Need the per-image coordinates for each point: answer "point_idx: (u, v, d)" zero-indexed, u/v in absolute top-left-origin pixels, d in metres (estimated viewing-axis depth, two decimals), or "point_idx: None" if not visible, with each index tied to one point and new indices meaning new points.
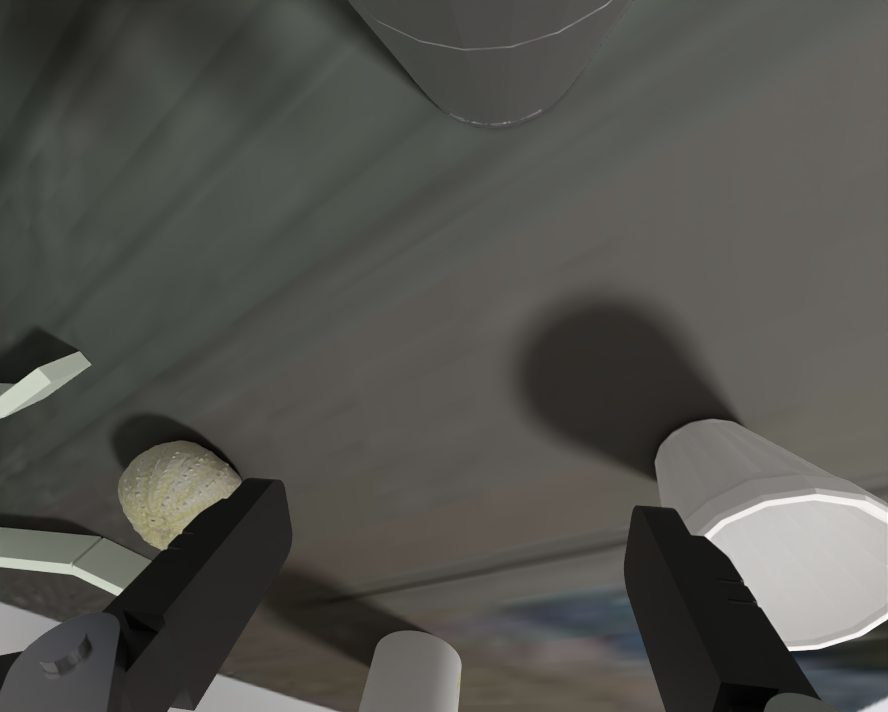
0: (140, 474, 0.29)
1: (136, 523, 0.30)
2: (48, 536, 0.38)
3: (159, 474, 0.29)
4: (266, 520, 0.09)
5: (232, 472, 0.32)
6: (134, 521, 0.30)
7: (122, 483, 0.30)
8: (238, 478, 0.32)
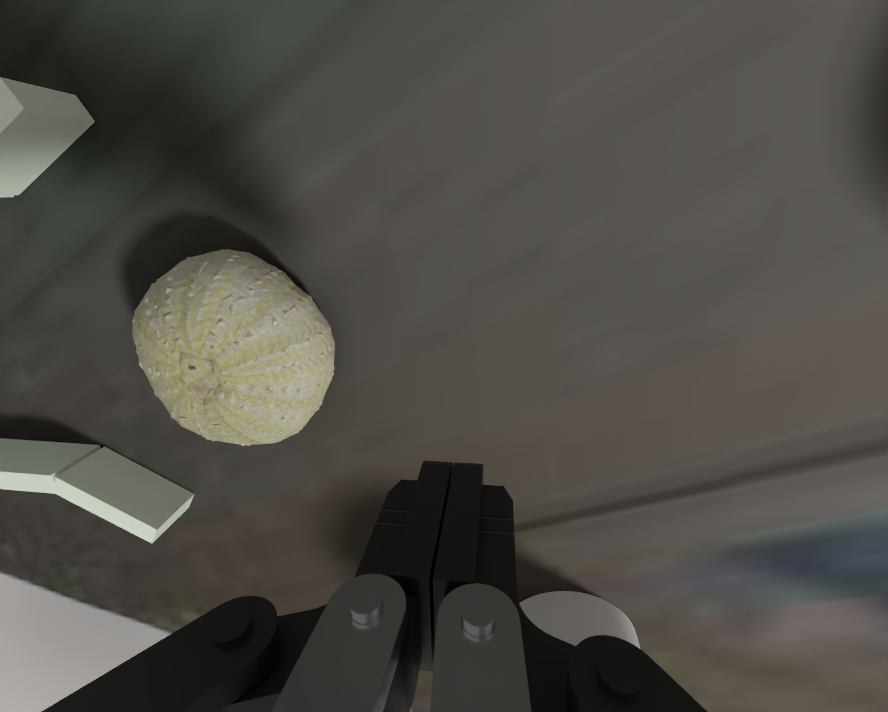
0: (173, 285, 0.17)
1: (162, 376, 0.18)
2: (21, 445, 0.26)
3: (206, 281, 0.17)
4: None
5: None
6: (158, 373, 0.18)
7: (139, 309, 0.18)
8: (327, 321, 0.20)
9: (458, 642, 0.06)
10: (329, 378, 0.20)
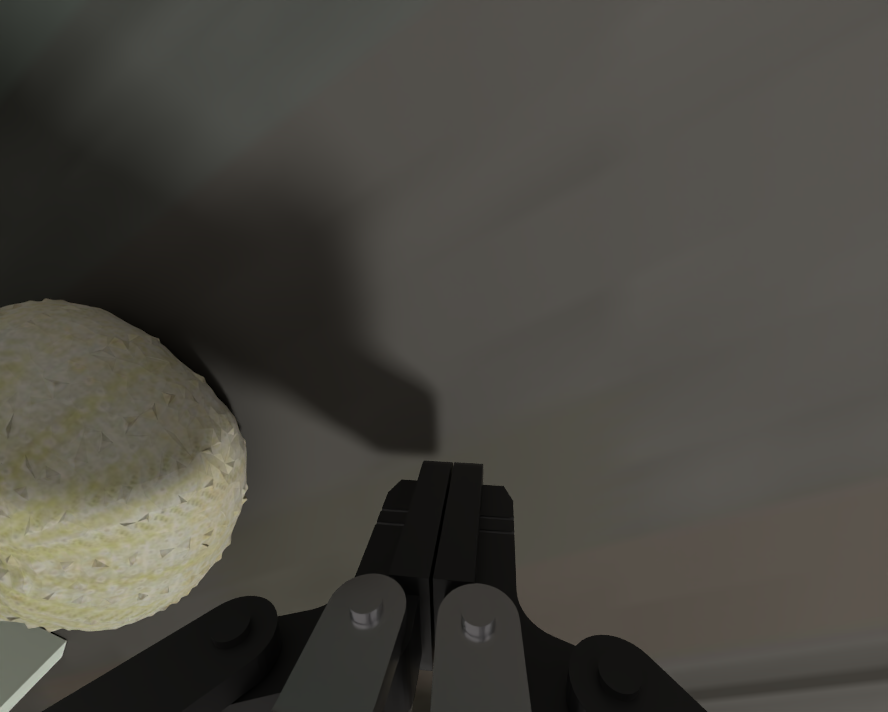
0: None
1: None
2: None
3: None
4: None
5: (215, 398, 0.11)
6: None
7: None
8: (230, 416, 0.12)
9: (458, 642, 0.06)
10: (233, 513, 0.12)
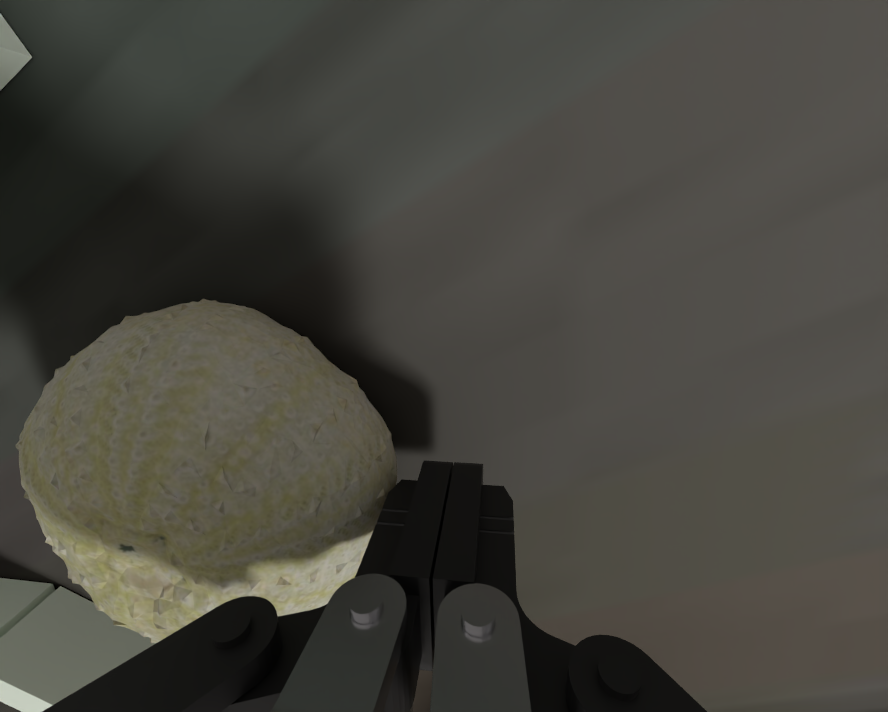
0: (88, 382, 0.08)
1: (71, 558, 0.09)
2: None
3: (153, 377, 0.08)
4: None
5: None
6: (64, 551, 0.09)
7: (30, 422, 0.09)
8: (383, 421, 0.11)
9: (458, 642, 0.06)
10: None
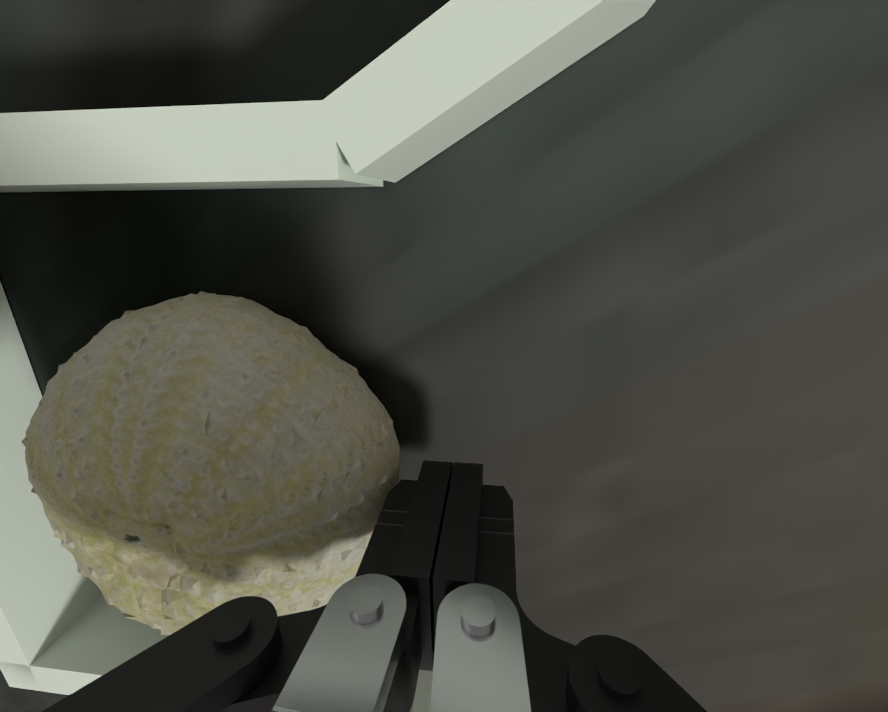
0: (88, 375, 0.08)
1: (79, 550, 0.09)
2: None
3: (153, 367, 0.08)
4: None
5: (370, 390, 0.11)
6: (72, 544, 0.09)
7: (35, 417, 0.09)
8: None
9: (458, 642, 0.06)
10: None
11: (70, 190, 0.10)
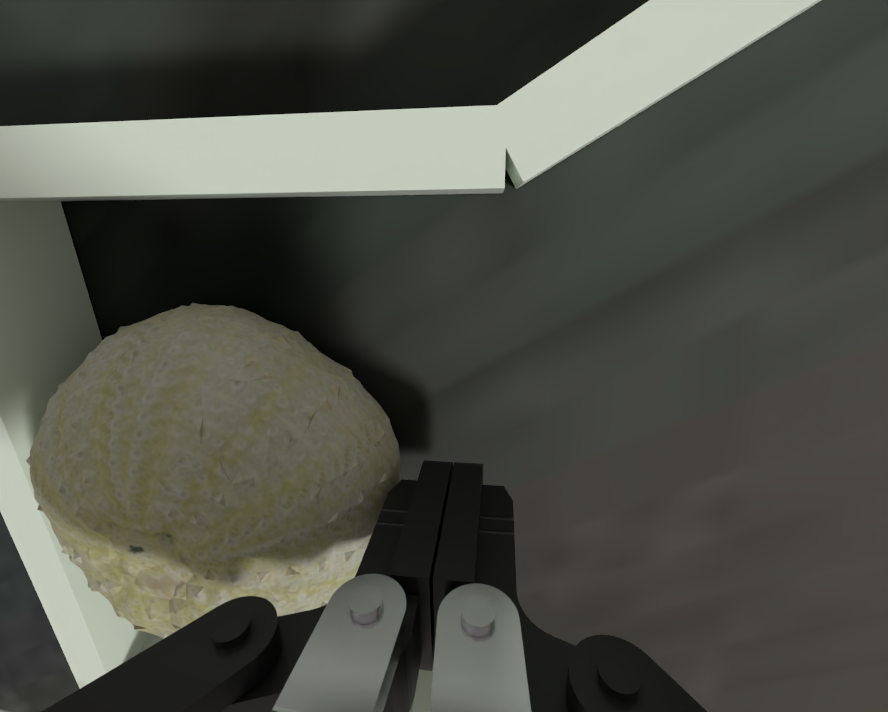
0: (84, 391, 0.09)
1: (86, 565, 0.09)
2: None
3: (146, 378, 0.08)
4: None
5: (366, 391, 0.11)
6: (80, 558, 0.09)
7: (37, 436, 0.09)
8: (381, 408, 0.11)
9: (458, 642, 0.06)
10: None
11: (174, 198, 0.10)
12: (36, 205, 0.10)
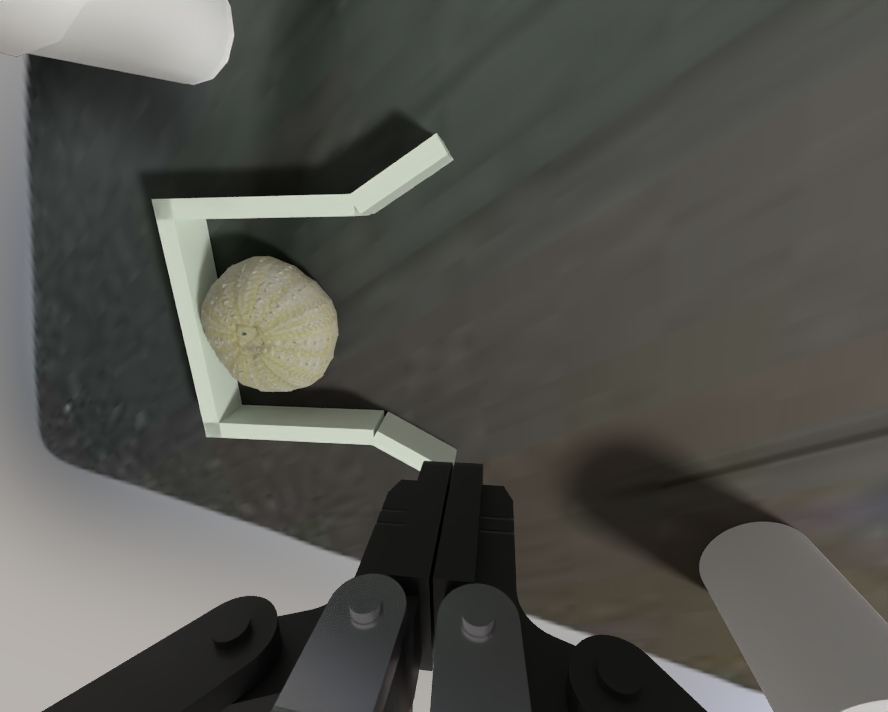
0: (226, 281, 0.26)
1: (225, 344, 0.27)
2: (320, 411, 0.32)
3: (247, 276, 0.26)
4: None
5: (322, 289, 0.28)
6: (222, 342, 0.27)
7: (205, 302, 0.27)
8: (329, 297, 0.29)
9: (458, 642, 0.06)
10: (335, 336, 0.29)
11: None
12: (199, 220, 0.28)
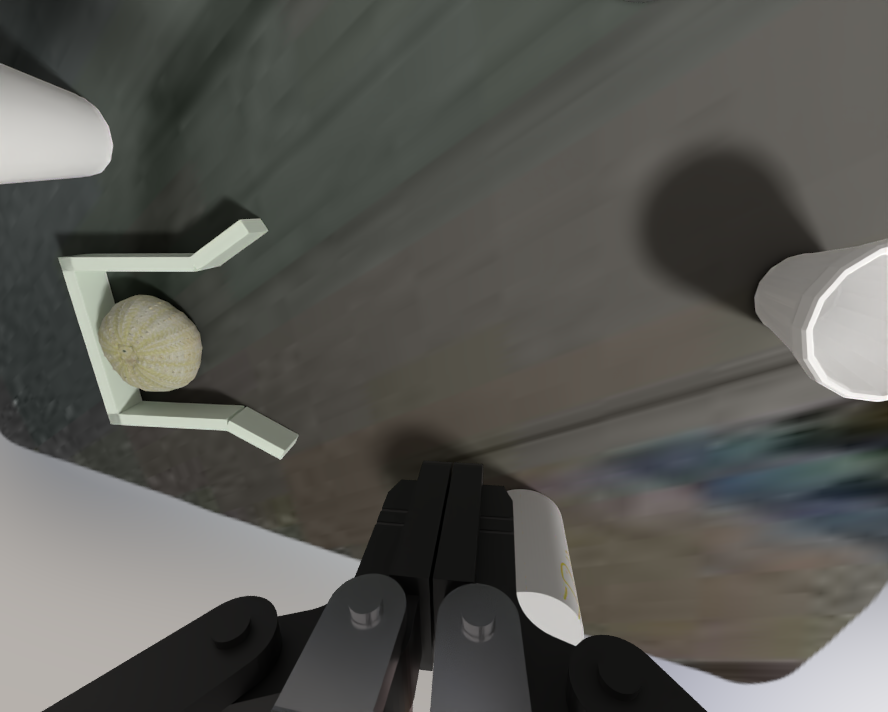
0: (111, 314, 0.37)
1: (112, 358, 0.38)
2: (197, 406, 0.43)
3: (125, 310, 0.37)
4: None
5: (187, 318, 0.40)
6: (111, 356, 0.38)
7: (100, 328, 0.38)
8: (192, 323, 0.40)
9: (458, 642, 0.06)
10: (197, 351, 0.40)
11: None
12: None
